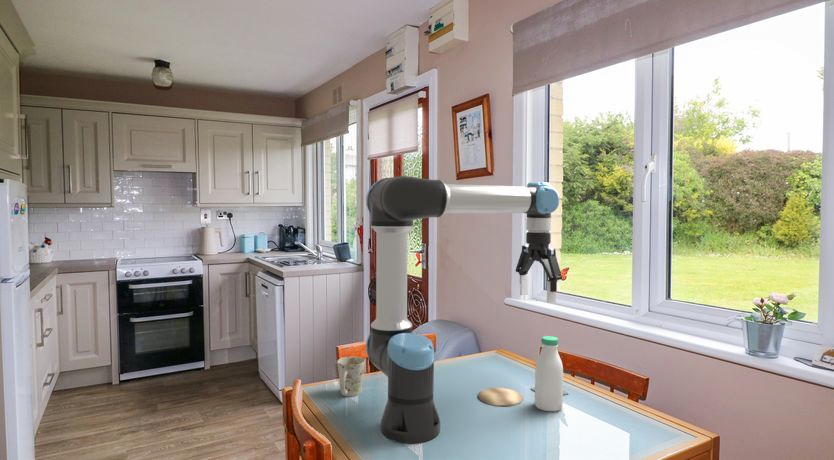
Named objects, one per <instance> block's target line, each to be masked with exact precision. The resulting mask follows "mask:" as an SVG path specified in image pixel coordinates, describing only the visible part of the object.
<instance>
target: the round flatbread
mask: <svg viewBox="0 0 834 460" xmlns="http://www.w3.org/2000/svg"><path fill="white" fill-rule="evenodd" d="M477 397H478V399H479V401H481V403H484V404H487V405H490V406H494V407H513V406H518V405H519V404H521V403H522V401H523V399H524V398H523V395H522V394H521V393H520V392H518V391H516V390H514V389H509V388H505V387H488V388H483V389H482V390H480V391H479V392H478V396H477ZM517 404H518V405H517Z"/></svg>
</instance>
